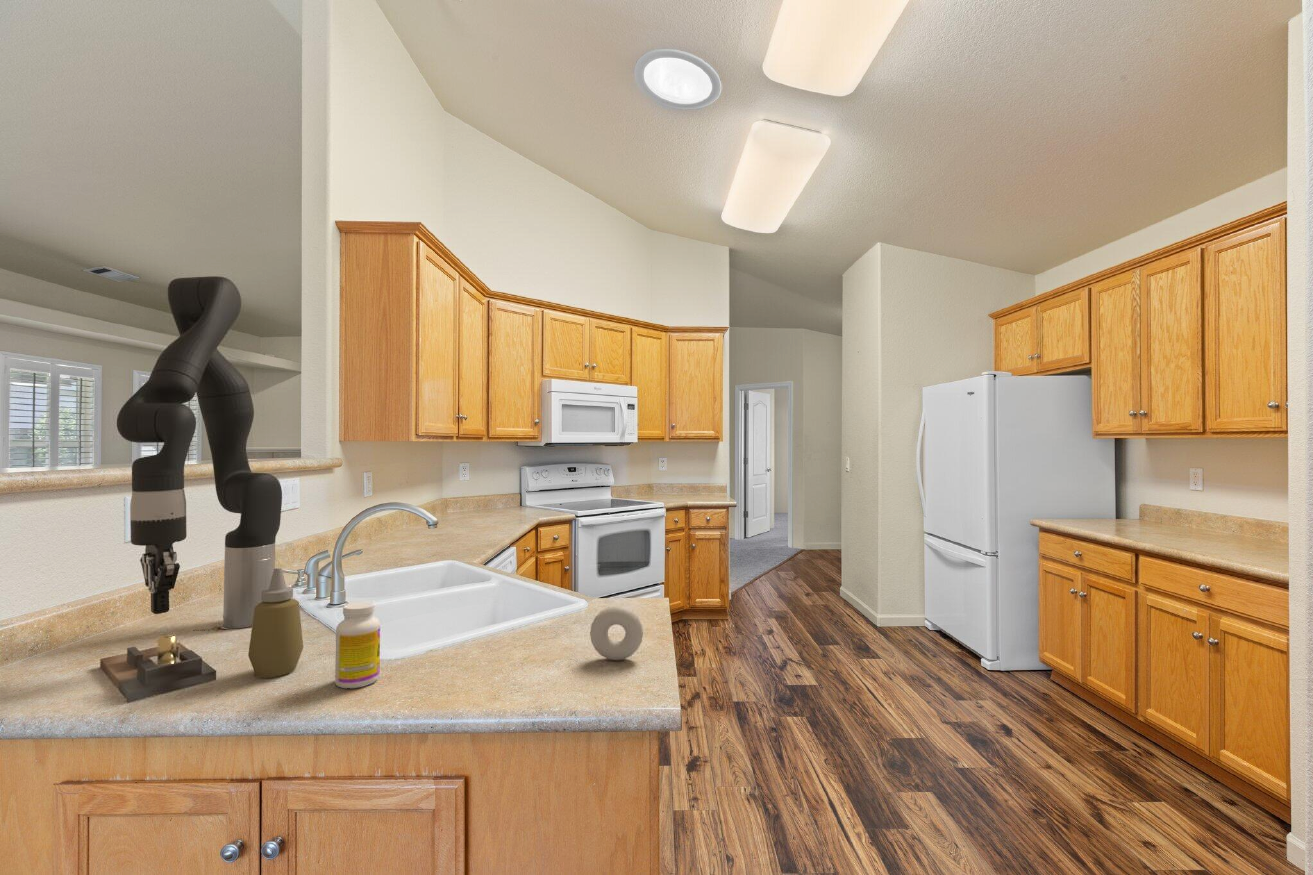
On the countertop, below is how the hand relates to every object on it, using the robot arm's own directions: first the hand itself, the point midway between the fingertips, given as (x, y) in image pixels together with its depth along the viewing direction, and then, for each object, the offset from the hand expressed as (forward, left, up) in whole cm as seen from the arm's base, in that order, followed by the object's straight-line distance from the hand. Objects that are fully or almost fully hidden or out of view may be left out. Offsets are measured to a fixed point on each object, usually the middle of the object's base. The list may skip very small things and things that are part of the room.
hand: (160, 612), depth 102 cm
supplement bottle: (-19, +34, -10) cm, 40 cm away
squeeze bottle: (-12, +19, -10) cm, 24 cm away
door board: (+1, +4, -10) cm, 10 cm away
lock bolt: (+1, +10, -8) cm, 13 cm away
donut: (-54, +61, -10) cm, 82 cm away
